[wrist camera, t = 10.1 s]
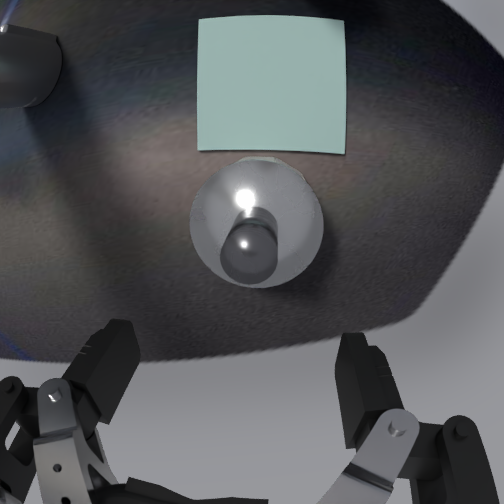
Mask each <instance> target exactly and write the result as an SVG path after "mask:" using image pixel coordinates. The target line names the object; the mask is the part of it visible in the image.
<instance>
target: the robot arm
mask: <svg viewBox="0 0 504 504" xmlns="http://www.w3.org/2000/svg"><path fill="white" fill-rule="evenodd" d="M56 37H57V36H56V35H54V34H50V33H46V32H42V31H38V30H33V29H29V28H24V27H20V26H15V25H9V24H5V25H3V26H1V27H0V109H3V108H16V107H19V108H21V107H32V106H36V105H38V104H40V103H41V102H43V101H44V100H45V99H46V98H47V97H48V95H49V94H50V93H51V91H52V90H53V88H54V86H55V84H56V82H57V80H58V77H59V74H60V70H61V66H62V53H61V50H60V47H59V46H58V44H57V43H56ZM139 361H140V348H139V345H138V342H137V338H136V335H135V332H134V328H133V325H132V323H131V322H130V321H128V320H120V319H111V320H110V321H109V323H108V324H107V325H106V327H105V328H104V329H100V330H99V331H98V332H96V333H95V334H93V335H92V336H91V337H90V338H89V340H88V341H87V342H86V344H85V347H84V346H83V348H82V349H81V351H80V354H79V353H78V355H77V356H76V357H75V359H74V360H73V362H72V363H71V364H70V366H69V367H68V369H67V370H66V372H65V373H64V374H63V376H62V378H53V379H49V380H47V381H46V382H44V383H43V384H42V385H41V386H40V388H34V387H25V386H24V384H23V383H22V381H21V380H20V379H19V378H18V377H15V376H9V377H6V378H4V379H3V380H2V381H0V504H23V503H24V501H25V499H26V496H27V493H28V491H29V488H30V486H31V483H32V481H33V478H34V476H35V474H36V471H37V476H38V481H39V486H40V491H41V496H42V500H43V504H268V499H249V498H236V497H229V498H218V499H204V500H193V499H189V498H187V497H184V496H182V495H180V494H178V493H175V492H173V491H171V490H169V489H167V488H165V487H162V486H160V485H157V484H153V483H149V482H145V481H141V480H138V479H134V478H131V477H129V478H128V481H127V483H126V484H119V483H118V481H117V480H116V478H115V476H114V475H113V473H112V472H111V469H110V467H109V465H108V462H107V459H106V456H105V453H104V450H103V447H102V444H101V440H100V437H99V433H98V430H97V428H96V425H97V423H98V421H99V422H102V423H105V424H108V425H109V423H110V421H111V419H112V417H113V415H114V413H115V411H116V409H117V407H118V405H119V402H120V400H121V398H122V396H123V394H124V392H125V390H126V388H127V386H128V384H129V382H130V380H131V378H132V376H133V374H134V372H135V370H136V368H137V366H138V364H139ZM335 380H336V386H337V392H338V398H339V404H340V410H341V417H342V423H343V429H344V437H345V444H346V449H351V448H356V455H355V456H354V458H353V459H352V461H351V462H350V463H349V465H348V466H347V467H346V468H345V469H344V471H343V472H342V473H341V475H340V476H339V477H338V478H337V480H336V481H335V482H334V484H333V485H332V486H331V488H330V489H329V490H328V491H327V492H326V494H325V495H324V496H323V497H322V498H321V500H320V501H319V502H318V503H317V504H385V503H386V502H387V500H388V499H389V497H390V495H391V493H392V491H393V483H394V481H395V479H396V478H405V479H409V480H410V486H411V494H412V501H413V504H499V499H498V495H497V491H496V487H495V483H494V479H493V476H492V472H491V469H490V465H489V462H488V459H487V455H486V452H485V449H484V446H483V443H482V440H481V437H480V434H479V431H478V429H477V426H476V425H475V423H474V422H473V421H472V420H471V419H470V418H468V417H465V416H462V415H457V416H453V417H451V418H449V419H448V420H447V421H446V422H445V423H444V425H440V424H429V423H422V422H419V421H418V420H417V418H416V417H415V416H414V415H413V414H412V413H410V412H408V411H406V410H405V409H404V407H403V404H402V401H401V398H400V395H399V392H398V389H397V387H396V383H395V381H394V378H393V376H392V372H391V370H390V367H389V364H388V362H387V359H386V356H385V354H384V353H383V352H382V351H381V350H380V349H379V348H378V347H377V346H368V343H367V340H366V338H365V335H364V333H362V332H360V333H343V334H342V337H341V342H340V346H339V350H338V354H337V359H336V363H335ZM15 421H16V423H17V424H18V425H19V426H20V429H19V431H18V433H17V435H16V437H15V438H14V440H13V442H12V444H11V446H10V448H9V450H7V449H6V447H5V440H6V437H7V435H8V434H9V432H10V430H11V428H12V426H13V425H14V423H15Z"/></svg>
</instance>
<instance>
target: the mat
mask: <svg viewBox="0 0 504 504" xmlns="http://www.w3.org/2000/svg"><path fill="white" fill-rule="evenodd" d="M345 132H346V55H345V33H344V21H341V20H333V19H324V18H314V17H300V16H273V15H260V16H232V17H219V18H208V19H199V32H198V69H197V134H198V150H290V151H311V152H326V153H339V154H345Z"/></svg>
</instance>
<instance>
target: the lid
mask: <svg viewBox="0 0 504 504" xmlns="http://www.w3.org/2000/svg"><path fill="white" fill-rule="evenodd" d="M190 233H191V238H192V241H193V244H194V247H195V249H196V251H197V253H198V255H199V256H200V258H201V259H202V261H203V262H204V263H205V264H206V265H207V266H208V267H209V268H210V269H211V270H212V271H213V272H214V273H215V274H217V275H218V276H220V277H221V278H223V279H225V280H227V281H229V282H231V283H234V284H237V285H240V286H244V287H251V288H265V287H272V286H276V285H280V284H282V283H285V282H287V281H289V280H291V279H293V278H295V277H296V276H297V275H299V274H300V273H301V272H302V271H304V270H305V269H306V268H307V267H308V265H309V264H310V263H311V262H312V260H313V259H314V257H315V256H316V254H317V252H318V250H319V247H320V244H321V241H322V236H323V214H322V210H321V207H320V204H319V201H318V199H317V197H316V195H315V193H314V192H313V190H312V189H311V187H310V186H309V185H308V183H307V182H306V181H305V180H304V179H303V178H302V177H301V176H300V175H299V174H297V173H296V172H295V171H293V170H292V169H290V168H288V167H286V166H284V165H282V164H279V163H276V162H273V161H268V160H259V159H252V160H244V161H239V162H236V163H233V164H230V165H228V166H226V167H224V168H222V169H220V170H219V171H217V172H216V173H215V174H213V175H212V176H211V177H210V178H209V179H208V180H207V181H206V182H205V183H204V184H203V185H202V187H201V188H200V190H199V191H198V193H197V194H196V197H195V199H194V201H193V204H192V208H191V212H190Z"/></svg>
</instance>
